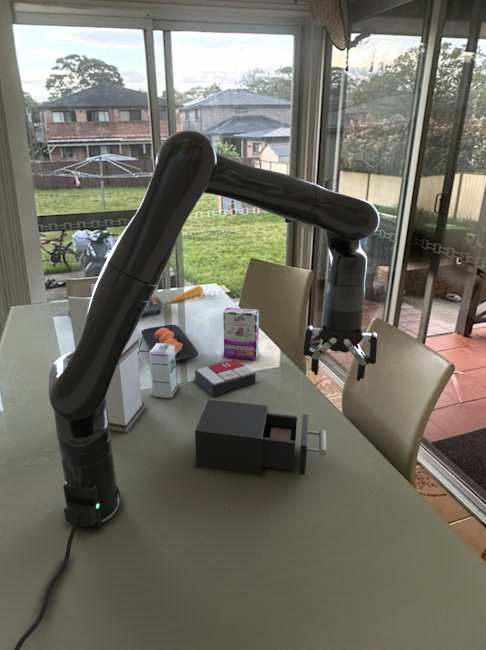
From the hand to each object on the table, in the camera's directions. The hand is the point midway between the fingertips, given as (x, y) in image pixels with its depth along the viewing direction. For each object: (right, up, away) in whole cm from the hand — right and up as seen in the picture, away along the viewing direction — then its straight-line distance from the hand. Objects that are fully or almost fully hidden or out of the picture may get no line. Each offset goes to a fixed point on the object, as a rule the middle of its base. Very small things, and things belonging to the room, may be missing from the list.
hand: (337, 376), depth 91 cm
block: (-13, -16, +9) cm, 23 cm away
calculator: (-23, -8, +42) cm, 48 cm away
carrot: (-41, +19, +112) cm, 121 cm away
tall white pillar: (-52, -15, +26) cm, 60 cm away
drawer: (-10, -20, +9) cm, 24 cm away
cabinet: (-21, -20, +12) cm, 31 cm away
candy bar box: (-17, -2, +58) cm, 60 cm away
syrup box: (-40, -10, +37) cm, 56 cm away
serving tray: (-68, +12, +95) cm, 118 cm away
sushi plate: (-50, 0, +62) cm, 80 cm away
